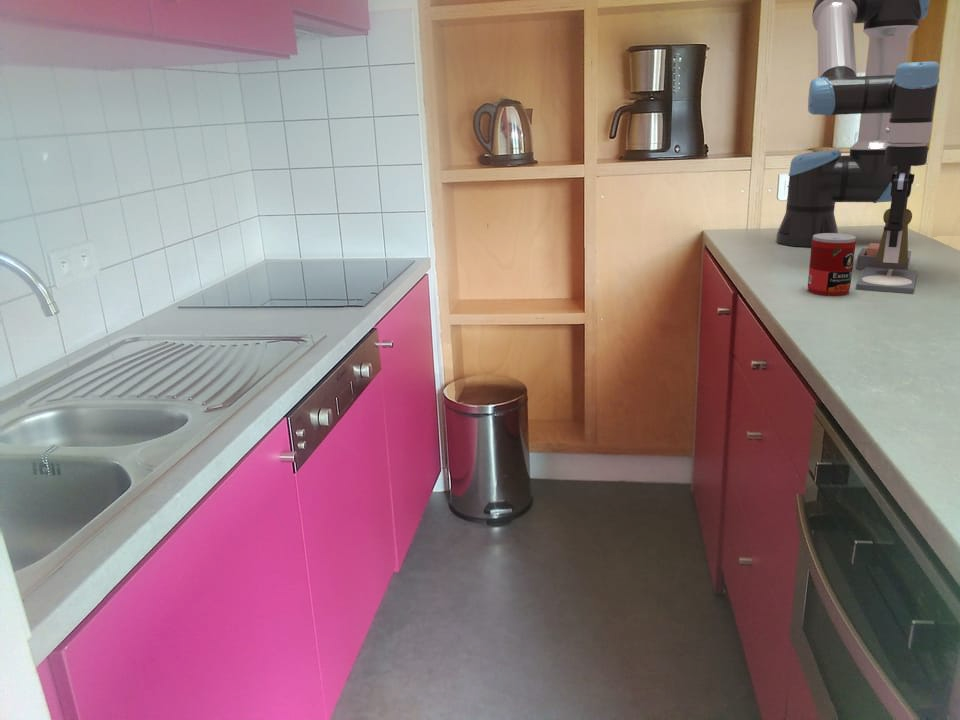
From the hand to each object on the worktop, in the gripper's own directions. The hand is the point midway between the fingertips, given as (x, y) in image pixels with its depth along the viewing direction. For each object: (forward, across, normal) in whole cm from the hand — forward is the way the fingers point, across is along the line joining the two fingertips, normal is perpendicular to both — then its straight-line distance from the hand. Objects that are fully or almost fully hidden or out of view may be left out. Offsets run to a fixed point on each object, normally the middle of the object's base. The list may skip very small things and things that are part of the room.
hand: (891, 259), depth 160 cm
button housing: (+4, -12, -2) cm, 13 cm away
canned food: (+4, +17, -10) cm, 20 cm away
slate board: (+4, +4, 0) cm, 6 cm away
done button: (+2, -12, -2) cm, 12 cm away
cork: (+1, 0, 0) cm, 1 cm away
